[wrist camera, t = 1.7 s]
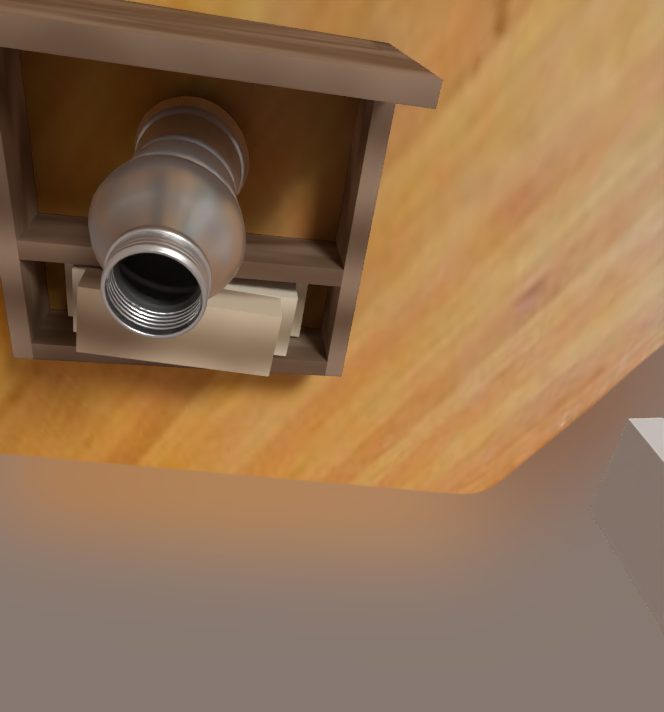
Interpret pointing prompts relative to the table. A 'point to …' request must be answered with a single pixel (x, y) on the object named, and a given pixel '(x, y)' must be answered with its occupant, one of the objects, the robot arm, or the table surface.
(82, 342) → the offcut top
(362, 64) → the walnut rack
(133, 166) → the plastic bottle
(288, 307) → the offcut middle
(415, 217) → the table surface
